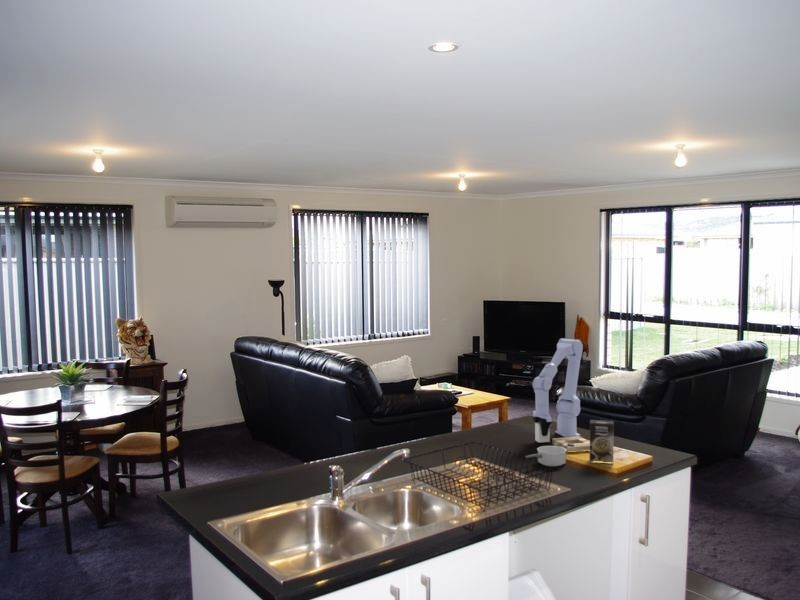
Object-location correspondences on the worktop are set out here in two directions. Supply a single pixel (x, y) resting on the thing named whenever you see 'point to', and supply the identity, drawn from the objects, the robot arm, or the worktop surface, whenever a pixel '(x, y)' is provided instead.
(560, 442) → the socket
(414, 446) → the worktop surface
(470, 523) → the worktop surface
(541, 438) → the plug
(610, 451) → the coffee box
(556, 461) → the saucepan
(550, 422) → the robot arm
